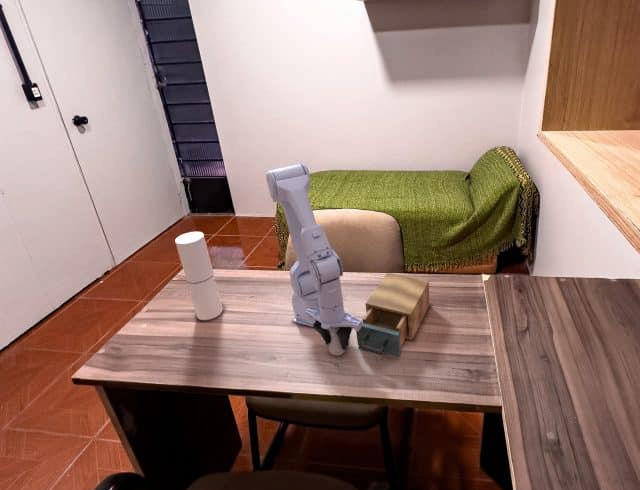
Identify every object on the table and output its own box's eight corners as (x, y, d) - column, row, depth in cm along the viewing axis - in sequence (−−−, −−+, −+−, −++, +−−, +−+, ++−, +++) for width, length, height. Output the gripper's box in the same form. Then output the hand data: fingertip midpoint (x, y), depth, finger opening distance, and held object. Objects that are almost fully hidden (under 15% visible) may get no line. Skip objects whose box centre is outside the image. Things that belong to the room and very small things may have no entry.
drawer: (392, 370, 91) (391, 348, 88) (349, 357, 95) (346, 335, 92) (417, 321, 105) (417, 300, 102) (379, 311, 110) (377, 292, 107)
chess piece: (344, 357, 96) (340, 332, 93) (326, 355, 97) (322, 330, 94) (349, 344, 100) (345, 319, 97) (332, 342, 101) (328, 318, 98)
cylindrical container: (191, 318, 113) (168, 242, 104) (207, 303, 120) (187, 230, 110) (212, 321, 112) (191, 244, 102) (227, 306, 118) (209, 232, 108)
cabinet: (412, 340, 100) (410, 313, 97) (368, 328, 105) (365, 303, 101) (429, 305, 112) (428, 280, 108) (389, 296, 117) (387, 272, 113)
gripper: (295, 304, 92) (304, 348, 97) (349, 318, 86) (355, 364, 92) (311, 287, 97) (319, 329, 103) (363, 299, 92) (368, 343, 97)
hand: (337, 344), depth 98 cm, fingers closed on chess piece, 4 cm apart
